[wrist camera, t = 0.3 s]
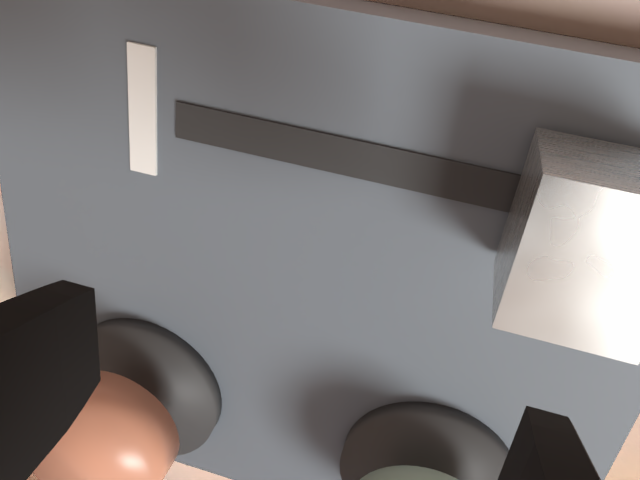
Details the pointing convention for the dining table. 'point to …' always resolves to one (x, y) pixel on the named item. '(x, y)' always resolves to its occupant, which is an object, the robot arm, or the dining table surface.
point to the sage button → (407, 474)
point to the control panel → (305, 220)
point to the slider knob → (573, 247)
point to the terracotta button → (115, 437)
